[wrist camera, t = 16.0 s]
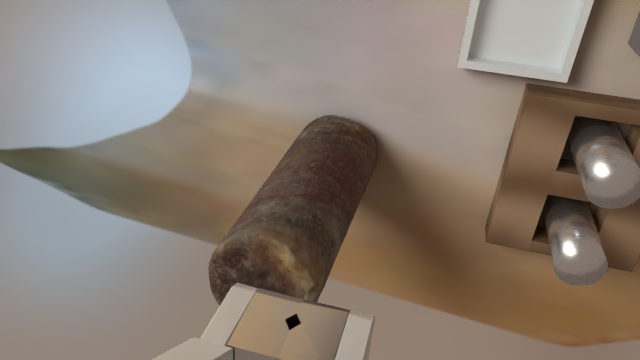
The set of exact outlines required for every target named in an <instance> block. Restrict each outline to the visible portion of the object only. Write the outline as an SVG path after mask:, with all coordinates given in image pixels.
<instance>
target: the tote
mask: <svg viewBox="0 0 640 360" xmlns="http://www.w3.org/2000/svg"><path fill="white" fill-rule="evenodd" d="M593 2H594V0H470V5H469V10H468V15H467V20H466V24H465V29H464V34H463V39H462V44H461V48H460V53H459V58H458V64H457V67H459V68H466V69H473V70H480V71H487V72H494V73H501V74H508V75H515V76H522V77H529V78H536V79H543V80H550V81H557V82H564V83H567V81H568V78H569V75H570V72H571V69H572V66H573V63H574V60H575V57H576V54H577V51H578V48H579V45H580V42H581V39H582V36H583V33H584V29H585V26H586V23H587V20H588V17H589V14H590V11H591V8H592V5H593Z"/></svg>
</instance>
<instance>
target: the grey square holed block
mask: <svg viewBox="0 0 640 360" xmlns="http://www.w3.org/2000/svg"><path fill="white" fill-rule="evenodd" d="M628 44H629V45H630V46H631V47H632V48H633V50H634V51H635V52H636V53H637V54H638V55H640V13H639V15H638V18H637V21H636V23H635V26H634V29H633V31H632V34H631V37H630V39H629V42H628Z"/></svg>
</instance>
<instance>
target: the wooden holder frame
mask: <svg viewBox="0 0 640 360" xmlns="http://www.w3.org/2000/svg"><path fill="white" fill-rule="evenodd" d="M575 116H582V117H588V118H595V119H601V120H608V121H614V122H621V123H627V124H632V126H631V129H630V131H629V134H628V136H627V138H626V141H625V143H626V144H627V146H628V148H629V150H630V152H631V154H632V155H633V157H634V159H635V161H636V163H637V164H638V166H639V168H640V100H638V99H631V98H624V97H617V96H610V95H603V94H596V93H589V92H582V91H576V90H569V89H562V88H555V87H548V86H541V85H534V84H527V83H526V87H525V90H524V94H523V97H522V101H521V104H520V108H519V111H518V115H517V118H516V122H515V125H514V129H513V132H512V136H511V139H510V143H509V146H508V150H507V153H506V157H505V160H504V164H503V167H502V171H501V174H500V178H499V181H498V185H497V188H496V192H495V195H494V199H493V202H492V206H491V209H490V213H489V216H488V220H487V223H486V227H485V228H486V242H488V243H493V244H497V245H502V246H507V247H512V248H517V249H522V250H527V251H532V252H537V253H542V254H546V255H551V250H550V244H549V239H548V234H547V229H546V228H541V227H536V226H537V223H538V221H539V218H540V215H541V212H542V209H543V206H544V203H545V201H546V198H547V195H548V194H549V195H554V196H560V197H565V198H571V199H576V200H582V201H587V202H591V201H590V200H589V199H588V198H587V196H586V194H585V191H584V188H583V185H582V182H581V179H580V176H579V173H578V170H577V167H576V164H575V161H571V160H565V159H560V158H561V155H562V152H563V149H564V146H565V143H566V141H567V138H568V135H569V132H570V129H571V126H572V123H573V120H574V118H575ZM593 220H594V223H595V226H596V229H597V232H598V235H599V238H600V241H601V244H602V247H603V250H604V253H605V256H606V259H607V262H608V267H610V268H615V269H620V270H625V271H630V272H632V270H633V268H634V266H635V264H636V262H637V260H638V258H639V256H640V198H639V199H638V200H636V201H635V202H634V203H632V204H630V205H628V206H626V207H623V208H618V209H605V208H601V207H598V208H597V210H596V213H595V215H594V217H593ZM551 256H552V255H551Z"/></svg>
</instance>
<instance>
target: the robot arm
mask: <svg viewBox="0 0 640 360" xmlns="http://www.w3.org/2000/svg"><path fill="white" fill-rule="evenodd" d="M374 322H375V316H374V315H369V314H365V313H360V312H356V311H352V310H351V311H350V310H347V309H343V308H338V307H334V306H330V305H326V304H321V303H317V302H312V301H308V300H302V299H298V298H295V297H291V296H287V295H283V294H280V293H276V292H272V291H268V290H265V289H261V288H255V287H251V286H248V285H244V284H240V283H236V284H235V285H234V286H232V287H231V289H230V290H229V292H228V294H227V295H226V297H225V298H224V300H223V302H222V303H221V305H220V307H219V308H218V310H217V312H216V313H215V315H214V317H213V318H212V320H211V321H210V323H209V325H208V326H207V328H206V329H205V331H204V333H203V334H202V336H201V338H200V339H198V338H194V337H193V338H191V339H189V340H187V341H185V342H184V343H182V344H180V345H178V346H176V347H174V348H173V349H171V350H169V351H167V352H165V353H163V354H161V355H160V356H158V357H156V358H154V359H153V360H368V357H369V352H370V345H371V340H372V334H373V328H374Z"/></svg>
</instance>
